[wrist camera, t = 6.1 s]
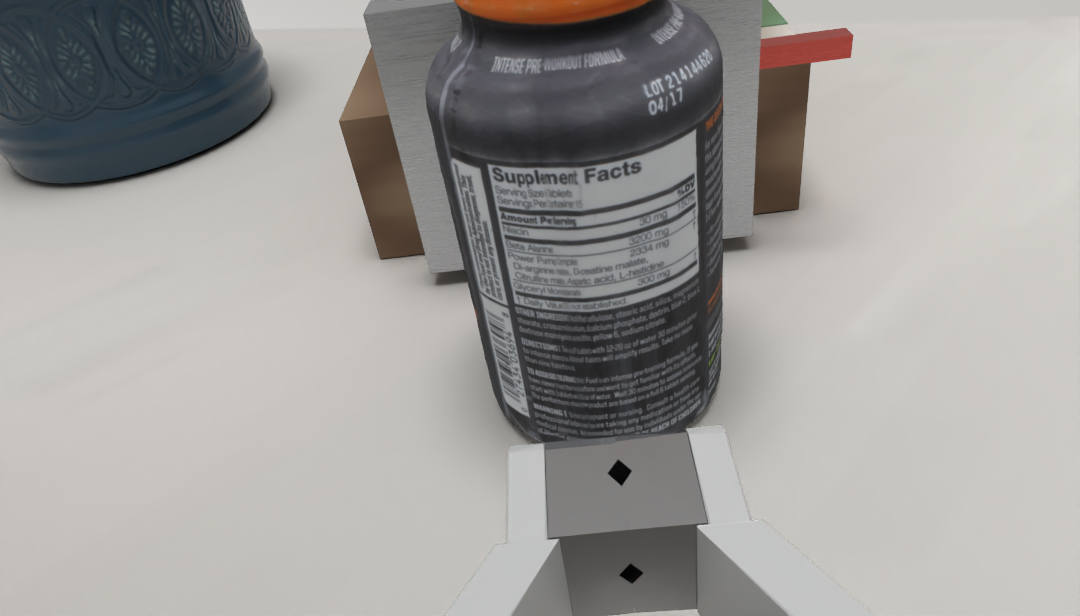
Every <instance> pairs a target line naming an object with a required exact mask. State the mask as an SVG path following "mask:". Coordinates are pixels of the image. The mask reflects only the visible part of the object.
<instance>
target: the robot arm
mask: <svg viewBox="0 0 1080 616" xmlns="http://www.w3.org/2000/svg"><path fill="white" fill-rule="evenodd" d="M634 608H635V609H634ZM689 609H697V612H698V613H699V615H700V616H875V615H874V614H873V613H871V612H870V611H869V610H868V609H867V608H866V607H864V606H863V605H862V604H861V603H860V602H859V601H857V600H856V599H855V598H854V597H853V596H852V595H850V594H849V593H848V592H847V591H846V590H845V589H843V588H842V587H841V586H840V585H839V584H838V583H836V582H835V581H834V580H833V579H832V578H831V577H829V576H828V575H827V574H826V573H825V572H824V571H823V570H821V569H820V568H819V567H818V566H817V565H816V564H814V563H813V562H812V561H811V560H810V559H809V558H807V557H806V556H805V555H804V554H803V553H802V552H800V551H799V550H798V549H797V548H796V547H795V546H793V545H792V544H791V543H790V542H789V541H788V540H786V539H785V538H784V537H783V536H782V535H781V534H779V533H778V532H777V531H776V530H775V529H774V528H772V527H771V526H770V525H769V524H768V523H767V522H765V521H764V520H752V519H751V515H750V512H749V508H748V505H747V501H746V498H745V495H744V491H743V488H742V484H741V481H740V477H739V474H738V471H737V467H736V464H735V460H734V457H733V453H732V450H731V447H730V443H729V440H728V436H727V433H726V430H725V429H724V427H723V426H722V425H714V426H704V427H695V428H686V430H685V429H684V428H683V429H674V430H665V431H657V432H648V433H639V434H630V435H621V436H615V437H609V438H596V439H583V440H570V441H557V442H545V443H538V444H526V445H513V446H509V450H508V454H507V495H506V543H505V544H497V545H495V546H494V547H493V548H492V550H491V551H490V553H489V554H488V555H487V557H486V558H485V560H484V561H483V562H482V564H481V565H480V567H479V568H478V569H477V571H476V572H475V574H474V575H473V576H472V578H471V579H470V581H469V582H468V583H467V585H466V586H465V588H464V589H463V590H462V592H461V593H460V594H459V596H458V597H457V599H456V600H455V601H454V603H453V604H452V606H451V607H450V608H449V610H448V611H447V613H446V614H445V615H444V616H611V615H620V614H628V613H640V612H656V611H672V610H689Z"/></svg>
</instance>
